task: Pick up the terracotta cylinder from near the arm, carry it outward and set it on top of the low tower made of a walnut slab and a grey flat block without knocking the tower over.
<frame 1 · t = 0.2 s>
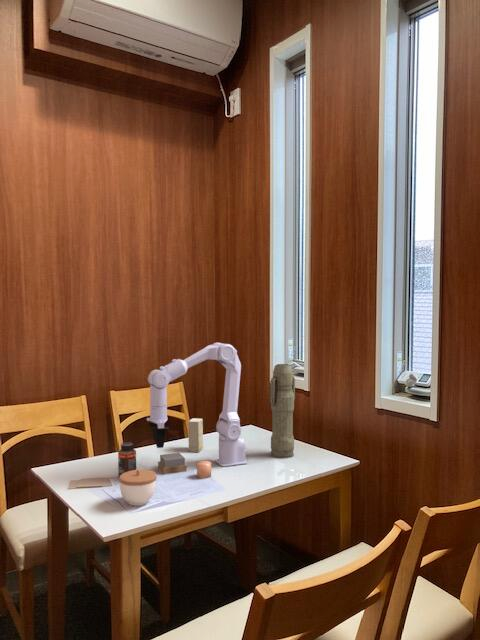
hand: (158, 444, 170), 10 cm above the table, tool pointing down, fingers open, 7 cm apart
terracotta cylinder: (204, 476, 168), on the table
grey flat block: (172, 463, 175), point 2 cm above the table, touching walnut slab
lidded jar: (138, 502, 146), on the table
thermos: (282, 455, 192), on the table
skincare box: (195, 450, 198), on the table
walnut slab: (172, 470, 175), on the table, touching grey flat block
supplement bottle: (127, 477, 166), on the table
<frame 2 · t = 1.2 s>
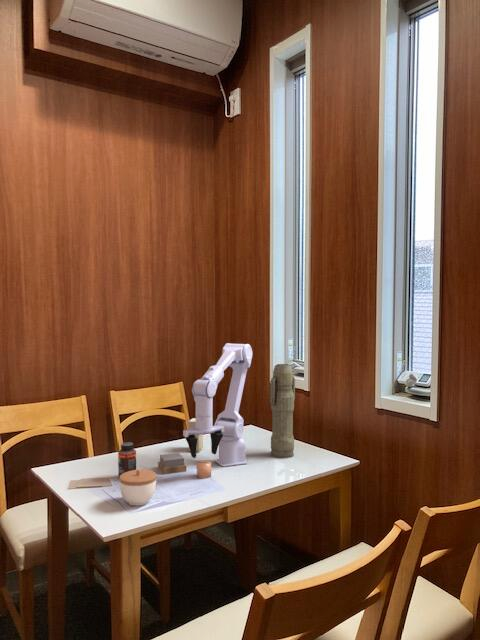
hand: (203, 455, 167), 7 cm above the table, tool pointing down, fingers open, 7 cm apart
nothing on the table moved.
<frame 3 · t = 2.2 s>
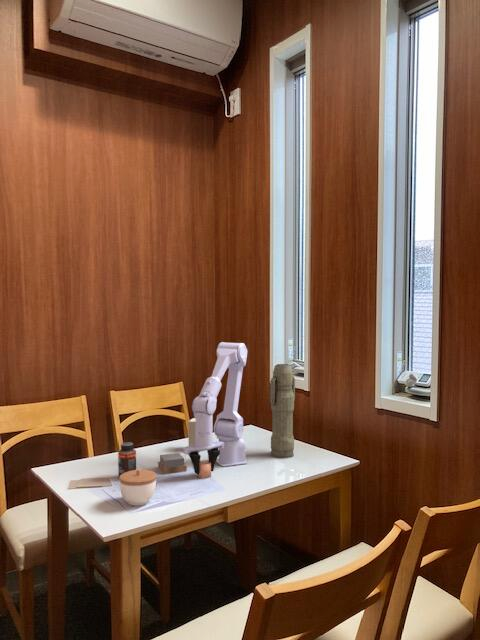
hand: (204, 471, 168), 1 cm above the table, tool pointing down, fingers closed on terracotta cylinder, 5 cm apart
terracotta cylinder: (204, 476, 168), on the table, touching gripper
everything else where it was.
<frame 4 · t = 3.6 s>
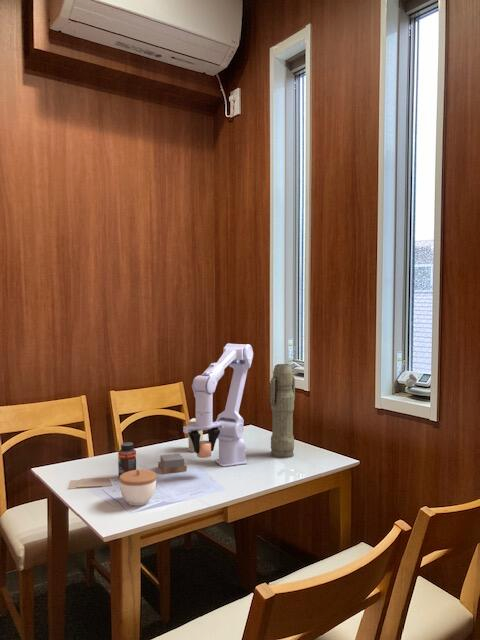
hand: (204, 451, 168), 8 cm above the table, tool pointing down, fingers closed on terracotta cylinder, 5 cm apart
terracotta cylinder: (204, 455, 168), point 7 cm above the table, touching gripper
everything else where it was.
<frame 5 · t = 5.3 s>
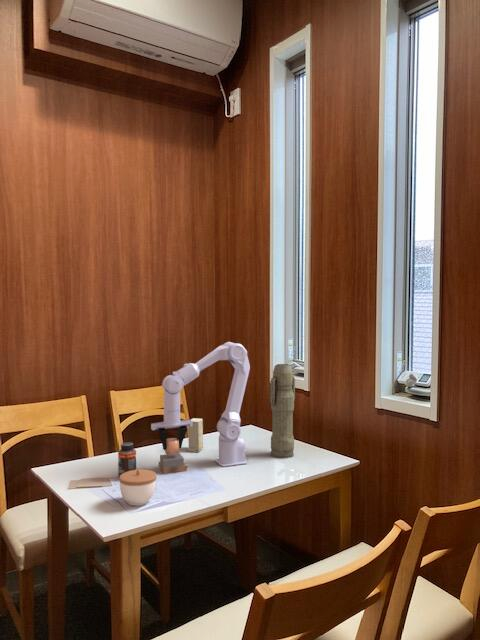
hand: (172, 448, 174), 7 cm above the table, tool pointing down, fingers closed on terracotta cylinder, 5 cm apart
terracotta cylinder: (172, 452, 174), point 6 cm above the table, touching gripper
everything else where it was.
when the fingers open (7 cm above the table, at t = 5.3 s): terracotta cylinder drops 2 cm, resting on grey flat block.
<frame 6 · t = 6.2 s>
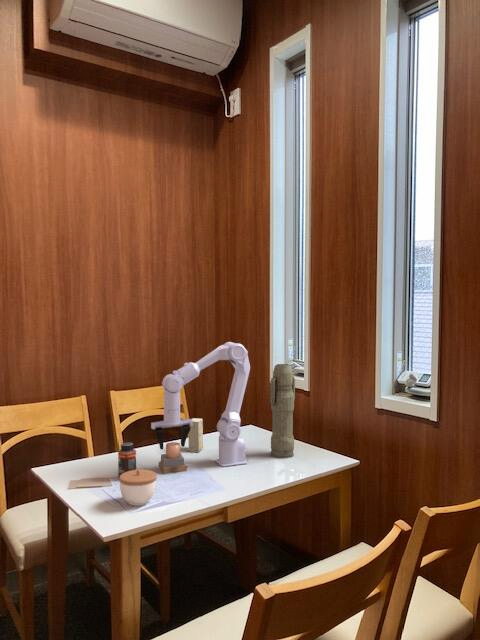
hand: (172, 447, 174), 8 cm above the table, tool pointing down, fingers open, 7 cm apart
terracotta cylinder: (172, 456, 174), point 4 cm above the table, touching grey flat block
grey flat block: (172, 463, 175), point 2 cm above the table, touching terracotta cylinder, walnut slab
everything else where it was.
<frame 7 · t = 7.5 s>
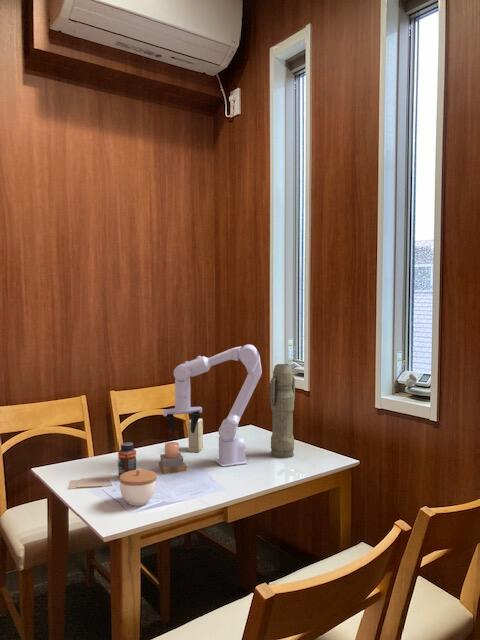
hand: (182, 433, 183), 10 cm above the table, tool pointing down, fingers open, 7 cm apart
nothing on the table moved.
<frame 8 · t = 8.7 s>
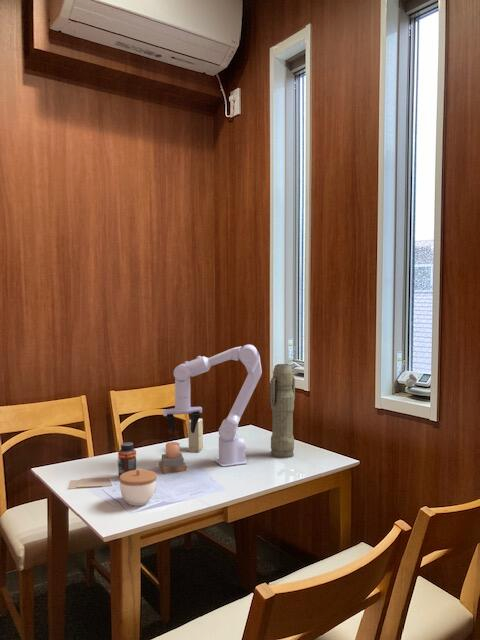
hand: (182, 433, 183), 10 cm above the table, tool pointing down, fingers open, 7 cm apart
grey flat block: (172, 463, 175), point 2 cm above the table, touching terracotta cylinder
walnut slab: (172, 470, 175), on the table
everything else where it was.
at the end: terracotta cylinder 0.3 cm off-centre on the walnut slab, point 5.0 cm above the walnut slab's base; grey flat block 0.0 cm off-centre on the walnut slab, point 2.5 cm above the walnut slab's base; terracotta cylinder tilted 0° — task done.
